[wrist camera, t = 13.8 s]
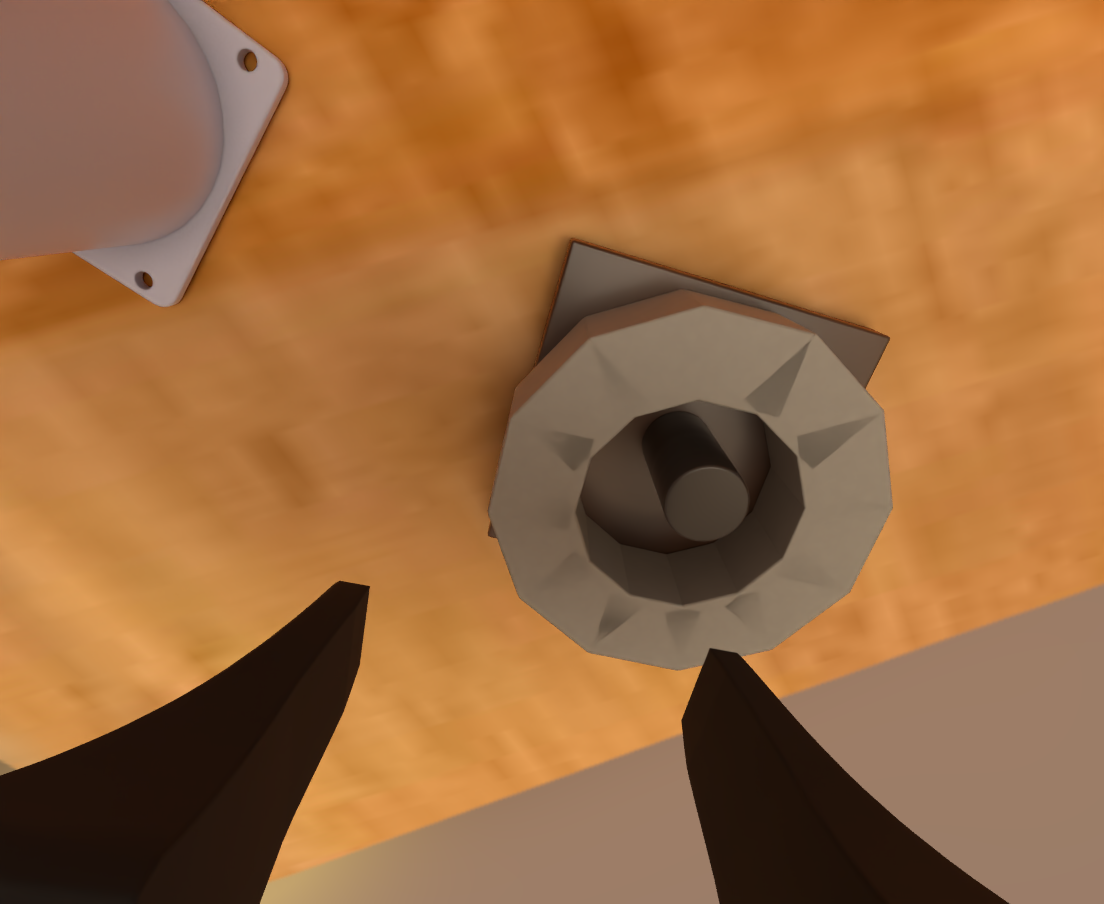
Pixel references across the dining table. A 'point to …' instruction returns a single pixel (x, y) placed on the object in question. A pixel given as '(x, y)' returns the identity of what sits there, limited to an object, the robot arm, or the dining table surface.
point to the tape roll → (732, 561)
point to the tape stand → (679, 414)
